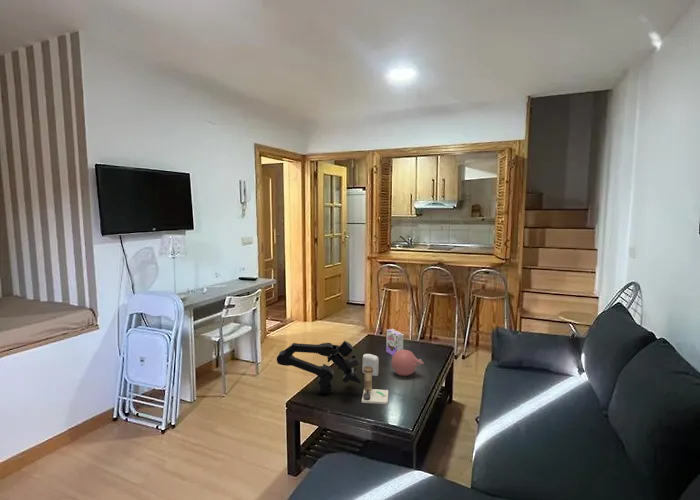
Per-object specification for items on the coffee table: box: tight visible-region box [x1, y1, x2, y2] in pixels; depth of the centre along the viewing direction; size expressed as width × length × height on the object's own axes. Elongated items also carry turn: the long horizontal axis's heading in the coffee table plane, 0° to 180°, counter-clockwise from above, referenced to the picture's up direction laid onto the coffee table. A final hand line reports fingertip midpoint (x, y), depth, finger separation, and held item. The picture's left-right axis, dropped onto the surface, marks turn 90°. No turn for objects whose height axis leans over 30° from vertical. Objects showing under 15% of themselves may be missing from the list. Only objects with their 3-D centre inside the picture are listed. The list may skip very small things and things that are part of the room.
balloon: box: [390, 349, 425, 377], centre depth 240 cm, size 15×20×15 cm
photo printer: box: [361, 353, 380, 377], centre depth 242 cm, size 10×4×12 cm, turn 60°
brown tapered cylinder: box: [362, 366, 373, 400], centre depth 212 cm, size 11×5×14 cm, turn 172°
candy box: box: [385, 328, 405, 357], centre depth 274 cm, size 14×6×16 cm, turn 25°
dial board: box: [361, 388, 389, 405], centre depth 213 cm, size 14×14×1 cm
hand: (360, 382), depth 215 cm, fingers closed
